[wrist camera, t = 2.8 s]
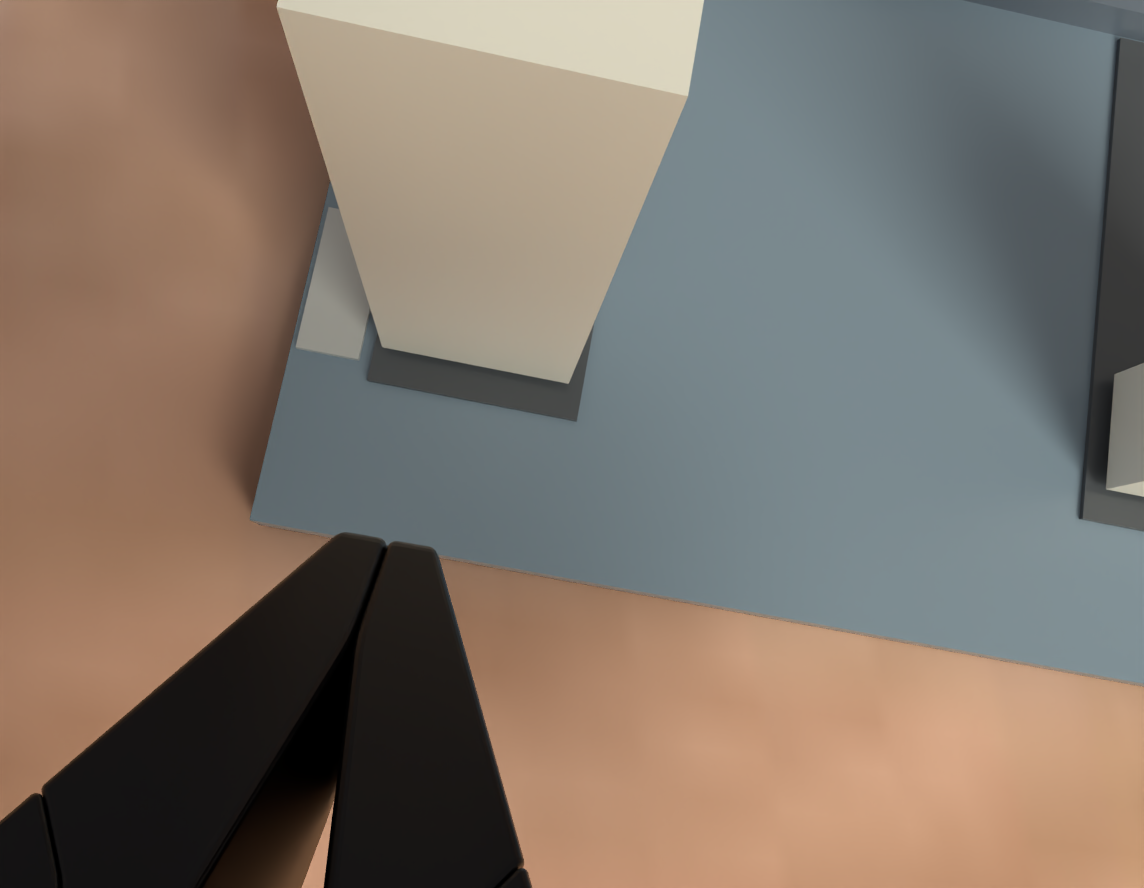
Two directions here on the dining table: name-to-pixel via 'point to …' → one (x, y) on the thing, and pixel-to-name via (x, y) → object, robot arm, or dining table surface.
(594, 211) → the beige rectangular block
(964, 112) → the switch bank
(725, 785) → the dining table surface
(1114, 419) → the cream tall block
